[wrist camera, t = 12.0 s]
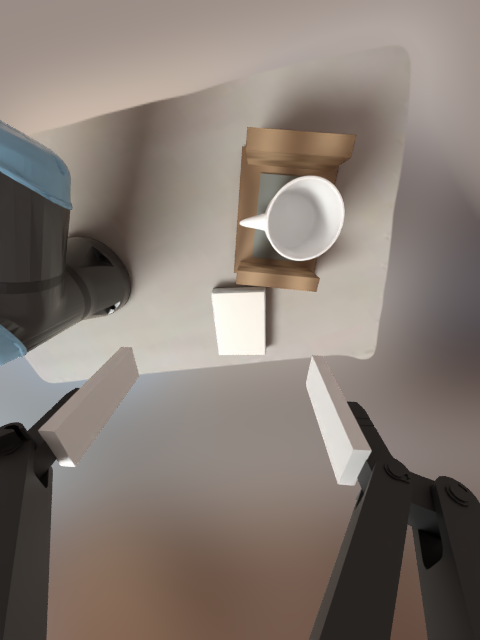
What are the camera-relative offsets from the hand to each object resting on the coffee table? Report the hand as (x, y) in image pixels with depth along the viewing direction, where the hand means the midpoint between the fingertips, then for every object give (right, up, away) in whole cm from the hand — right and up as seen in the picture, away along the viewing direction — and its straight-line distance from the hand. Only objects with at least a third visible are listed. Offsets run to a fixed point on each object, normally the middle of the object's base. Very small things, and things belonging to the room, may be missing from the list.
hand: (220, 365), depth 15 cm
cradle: (+8, +20, +19) cm, 29 cm away
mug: (+8, +19, +18) cm, 27 cm away
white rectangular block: (+2, +3, +27) cm, 28 cm away
